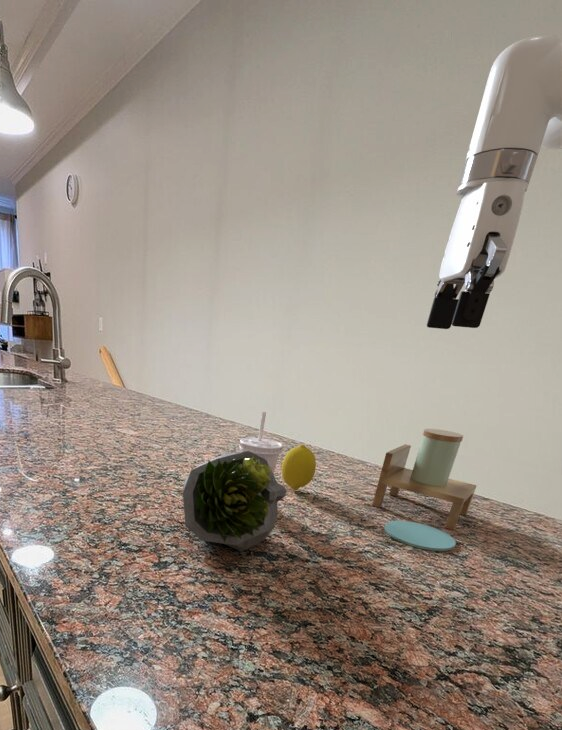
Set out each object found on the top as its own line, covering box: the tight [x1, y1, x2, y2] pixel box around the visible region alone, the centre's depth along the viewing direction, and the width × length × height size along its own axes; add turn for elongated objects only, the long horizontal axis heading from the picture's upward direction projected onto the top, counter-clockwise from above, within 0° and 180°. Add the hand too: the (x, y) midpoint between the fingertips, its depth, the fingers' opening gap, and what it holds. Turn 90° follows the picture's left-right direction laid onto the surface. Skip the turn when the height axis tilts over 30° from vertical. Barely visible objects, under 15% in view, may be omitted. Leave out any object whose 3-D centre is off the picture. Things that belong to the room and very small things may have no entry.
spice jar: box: [411, 428, 464, 486], centre depth 70 cm, size 5×5×8 cm
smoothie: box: [238, 411, 284, 475], centre depth 67 cm, size 6×6×14 cm
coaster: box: [384, 520, 457, 552], centre depth 63 cm, size 9×9×1 cm
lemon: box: [281, 444, 317, 491], centre depth 76 cm, size 6×6×8 cm
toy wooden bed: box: [371, 444, 478, 531], centre depth 71 cm, size 12×10×9 cm
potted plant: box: [182, 451, 287, 553], centre depth 53 cm, size 12×13×15 cm
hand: (450, 327), depth 62 cm, fingers open, 9 cm apart
